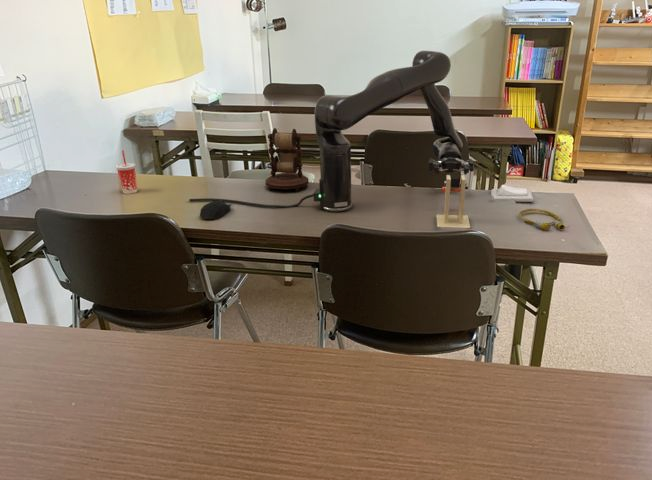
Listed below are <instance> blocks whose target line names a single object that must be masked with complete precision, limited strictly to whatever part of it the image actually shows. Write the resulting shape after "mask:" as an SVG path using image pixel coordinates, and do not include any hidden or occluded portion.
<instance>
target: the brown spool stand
mask: <svg viewBox="0 0 652 480" xmlns="http://www.w3.org/2000/svg"><path fill="white" fill-rule="evenodd" d="M267 139H268V143H269V144H268V150H267V151H268V154H269V155H270V157H269V161H270V162H269V166H270V169H271V170H270V176H269V177H267V178H266V179H265V180H264V181H265V182H264V183H265V186H266V187H267V188H268V190H269V191H272V189H276V190H293V189H294V190H295V192H299V189H300V188H303V187H305V186H307V185H308V184H309V182H310V181H309V178H308V177H307V176H305V175H304V174H303V171H302V170H303V168H302V167H303V162H302V155H303V150H302V144H301V139H302V136H301V135H300V134H298V133H297V130H296V128H293V129H292V131H291V132H290V133H289V132H288V133H287V132H286V133H285V132H278V129H277V128H276V127H274V128H273V129H272V131H271V133H269V134H268V135H267ZM274 147H275V148H274ZM275 153H276V154H278V155H279V156H278V155H275ZM274 155H275V156H274Z"/></svg>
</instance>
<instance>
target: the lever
mask: <svg viewBox="0 0 652 480" xmlns="http://www.w3.org/2000/svg"><path fill="white" fill-rule="evenodd" d="M460 183H461V178H451V184H450V193H460ZM441 188H442V190H441V191H442V193H445V191H446V186H442V187H441Z"/></svg>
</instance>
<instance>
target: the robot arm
mask: <svg viewBox="0 0 652 480" xmlns="http://www.w3.org/2000/svg"><path fill="white" fill-rule="evenodd" d="M451 67H452V63H451V59H450V58H449V56H448V55H447V54H446V53H444V52H441V51H434V50H419V51H418V52H416V53H415V55H414V57H413V60H412V64H411V66H406V67H405V66H404V67H399V68H393V69H391V70H387V71H385V72H383V73H381V74H379V75H376V76H374V77H373V78H372V79H370V80H369V82H368V83H367V85H366V87H365V88H364V89H363V90H362V91H360V92H357V93H355V94H352V95H348V96H339V95H332V94H326V95H323V96H321V97H320V98H318V100H317V102H316V103H315V107H314V127H315V137H316V143H317V145H318V148H319V168H320V169H319V170H320V171H319V173H320V177H319V179H318V183H319V185H318V186H319V187H317V188H315V190H314V191H313V193H312V194H309V195H305V196H303V197H302V198H301V199H300V200H299V202H298V203H297V202H296V203H294V204H290V205H283V204H282V205H280V204H264V203H257V202H256V203H255V202H248V201H242V200H237V199H236V200H235V199H226V198H213V197H211V198H210V197H208V198H207V197H206V198H205V197H204V198H189V202H206V201H210V202H212V201H216V200H217V201H220V200H221V201H222V202H224V203H225V202H226V203H235V204H241V205H246V206H247V205H248V206H254V207H261V208H275V209H276V208H277V209H278V208H280V209H287V208H288V209H289V208H295V207H298V206H300V205H301V204H302V203H303V201H305V200H307V199H311V198H313V202H319V210H321V211H326V212H330V213H331V212H332V213H340V212H341V213H342V212H345V211H348V210H351V209H352V206H353V204H352V146H351V142H350V141H349V139H347V138H346V137H345V135H344V134H343V132H342V131H346V130H348V129H350V128H352V127H353V126H355V125H357V123H360V122H361V121H362V120H363V119H365V118H366V117H368V116H370V115H371V114H373V113H376V112H378V111H380V110H382V109H384V108H386V107H388V106H390V105H392V104H395V103H397V102H398V101H400V100H401V99H404V98H405V97H408V96H410V95H412V94H414V93H415V92H417V91H419V90H420V93H421V96H423V99H424V102H425V104H426V106H427V110H428V112H429V116H430V120H431V124H432V129H433V132H434V135H436V136H437V137H443V138H438V139H436V140H435V141H434V142H433V144H432V150H433V151H432V152H433V154H434V156H435V157H436V158H437V160H435V159H434V158H431V157H430V158H429V161H428V168H427V169H428V171H429V172H431V171H434V173H436V174H437V175H439V174H440V172H446V173H454V172H461V173H462V172H463V175H464V176H466V175H467V174H469V173H470V172H474V171H475V170H474V169H475V162H474V160H473V159H471V158H469V159H468V160H467V161H465V160H464V159H462V154H461V153H462V152H463V149H464V144H463V141H462V139H461V137H460V136H459V134H458V133H457V131H456V128H455V126H454V125H455V124H454V121H453V117H452V112H451V109H450V107H449V105H448V103H447V102H446V100H445V98H444V97H443V96H442V94H441V92H440V91H439V90H438V88H437V86H436V84H437V83H441V82H442V81H444V79H446V78H447V77H448V75H449V73H450V71H451Z"/></svg>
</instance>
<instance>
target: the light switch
mask: <svg viewBox="0 0 652 480" xmlns="http://www.w3.org/2000/svg"><path fill="white" fill-rule="evenodd" d="M490 196H491V197H493V199H495V200H496V199H498V200H514V202H517V203H519V202H523V203H525V202H527V203H528V202H529V203H533V202H534V196H533V193H532V190H531V189H530V188H522V187H521V188H520V187H511V186H509V185H507V184H502V185H500V187H499V188H492V189H491V190H490Z"/></svg>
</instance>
